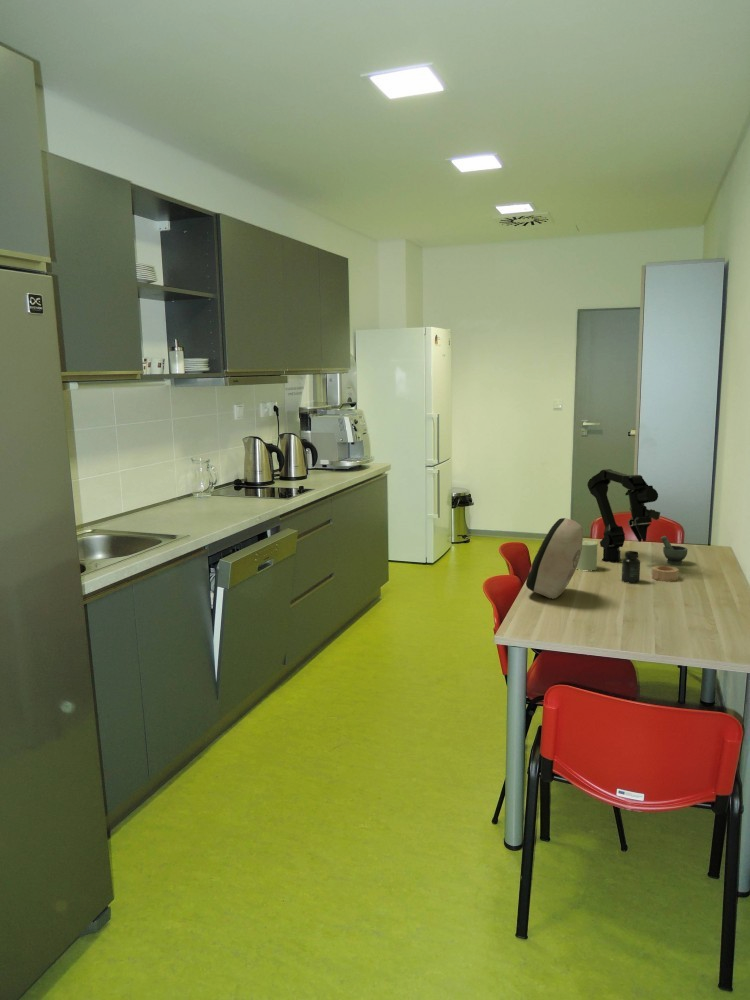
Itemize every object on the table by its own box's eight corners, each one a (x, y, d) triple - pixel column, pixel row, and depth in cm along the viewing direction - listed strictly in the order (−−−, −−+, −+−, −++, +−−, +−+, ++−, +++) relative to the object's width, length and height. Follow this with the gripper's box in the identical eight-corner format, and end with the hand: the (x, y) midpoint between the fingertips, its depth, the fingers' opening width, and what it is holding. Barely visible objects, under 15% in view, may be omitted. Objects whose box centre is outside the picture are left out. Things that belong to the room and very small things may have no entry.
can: (573, 570, 308) (574, 543, 306) (576, 565, 317) (576, 538, 315) (595, 572, 305) (596, 544, 303) (597, 566, 313) (598, 540, 311)
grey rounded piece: (535, 584, 288) (537, 510, 283) (586, 590, 279) (588, 514, 275) (521, 599, 269) (522, 520, 264) (575, 606, 260) (577, 524, 255)
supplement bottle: (619, 578, 294) (620, 550, 292) (636, 579, 294) (638, 550, 292) (623, 583, 288) (625, 554, 286) (641, 583, 287) (642, 554, 285)
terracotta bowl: (648, 579, 293) (649, 569, 293) (655, 573, 301) (656, 564, 300) (673, 582, 287) (674, 573, 287) (680, 577, 295) (681, 567, 294)
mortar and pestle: (687, 562, 319) (689, 535, 317) (685, 566, 311) (687, 539, 309) (660, 559, 324) (661, 533, 322) (657, 564, 316) (659, 537, 314)
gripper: (662, 500, 295) (667, 538, 293) (652, 503, 313) (657, 539, 311) (633, 503, 296) (639, 541, 295) (625, 506, 315) (630, 542, 313)
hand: (642, 541), depth 303 cm, fingers open, 9 cm apart
